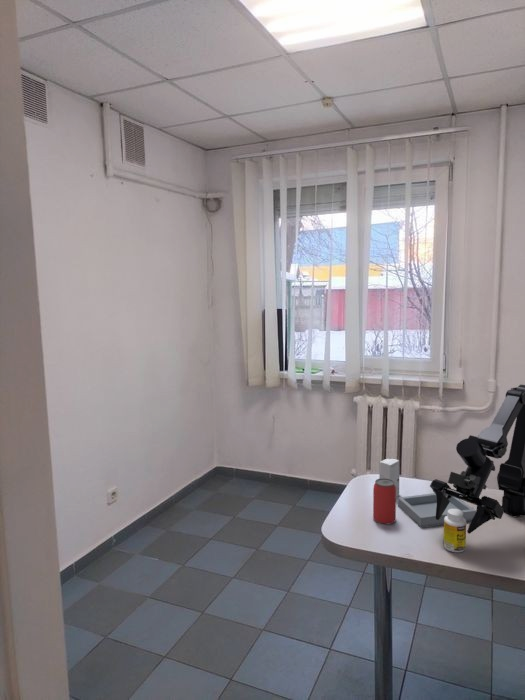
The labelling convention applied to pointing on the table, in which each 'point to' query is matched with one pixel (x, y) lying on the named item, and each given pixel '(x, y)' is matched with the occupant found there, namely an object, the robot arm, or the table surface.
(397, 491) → the skincare box
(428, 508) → the sorting tray
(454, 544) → the supplement bottle
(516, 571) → the table surface
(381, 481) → the beer can
